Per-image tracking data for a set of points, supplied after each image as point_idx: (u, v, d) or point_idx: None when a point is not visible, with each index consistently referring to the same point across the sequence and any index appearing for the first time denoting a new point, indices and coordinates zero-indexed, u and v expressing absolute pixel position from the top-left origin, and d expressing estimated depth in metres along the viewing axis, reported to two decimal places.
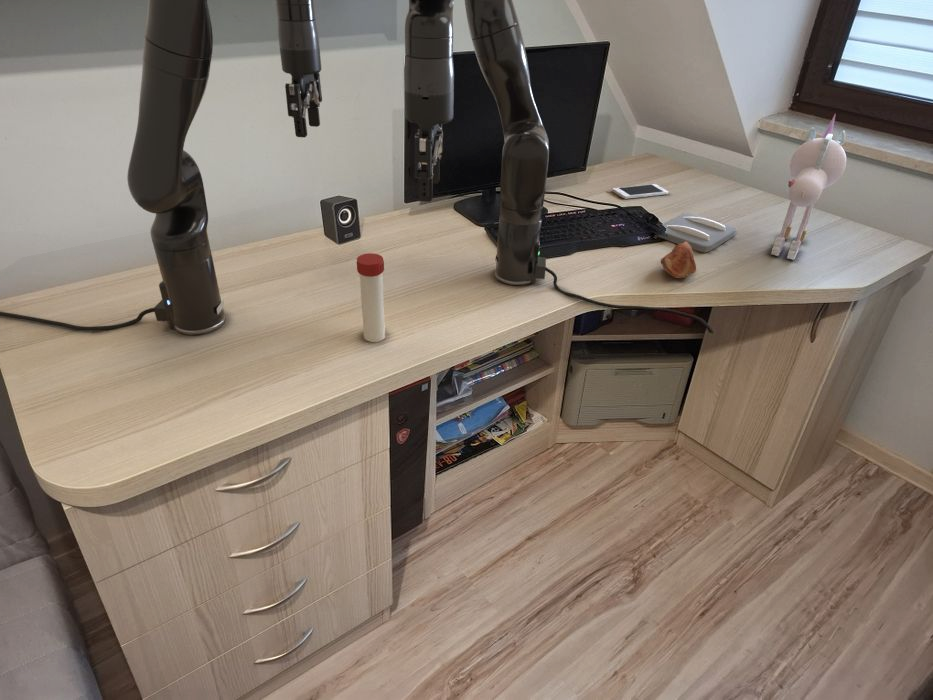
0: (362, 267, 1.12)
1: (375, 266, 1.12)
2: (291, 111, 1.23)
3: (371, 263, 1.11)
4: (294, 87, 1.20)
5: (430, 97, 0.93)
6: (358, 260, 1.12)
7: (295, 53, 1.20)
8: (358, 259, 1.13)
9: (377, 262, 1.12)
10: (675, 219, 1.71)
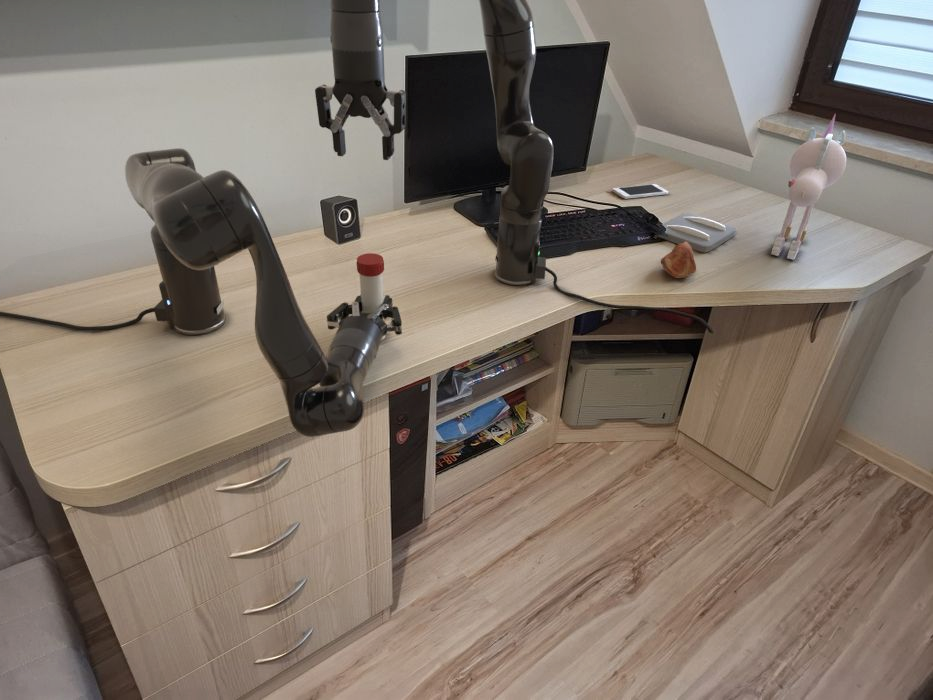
0: (362, 267, 1.12)
1: (375, 266, 1.12)
2: None
3: (371, 263, 1.11)
4: (404, 95, 0.97)
5: None
6: (358, 260, 1.12)
7: (382, 52, 0.94)
8: (358, 259, 1.13)
9: (377, 262, 1.12)
10: (675, 219, 1.71)
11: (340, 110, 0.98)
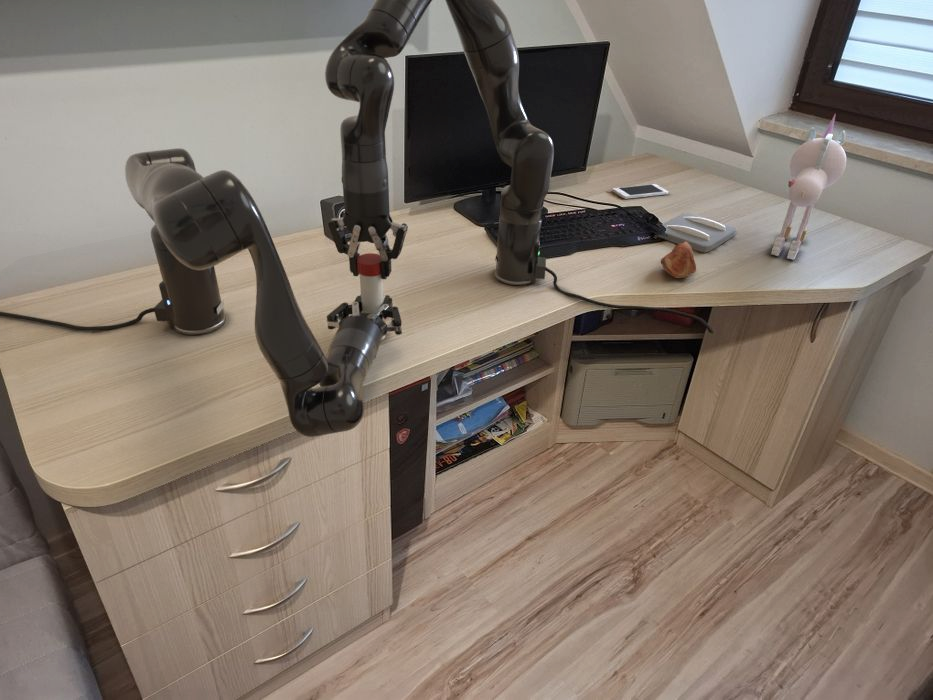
0: (362, 267, 1.12)
1: (375, 266, 1.12)
2: None
3: (371, 263, 1.11)
4: (406, 228, 1.09)
5: None
6: (358, 260, 1.12)
7: (388, 190, 1.06)
8: (358, 259, 1.13)
9: (377, 262, 1.12)
10: (675, 219, 1.71)
11: (352, 239, 1.10)
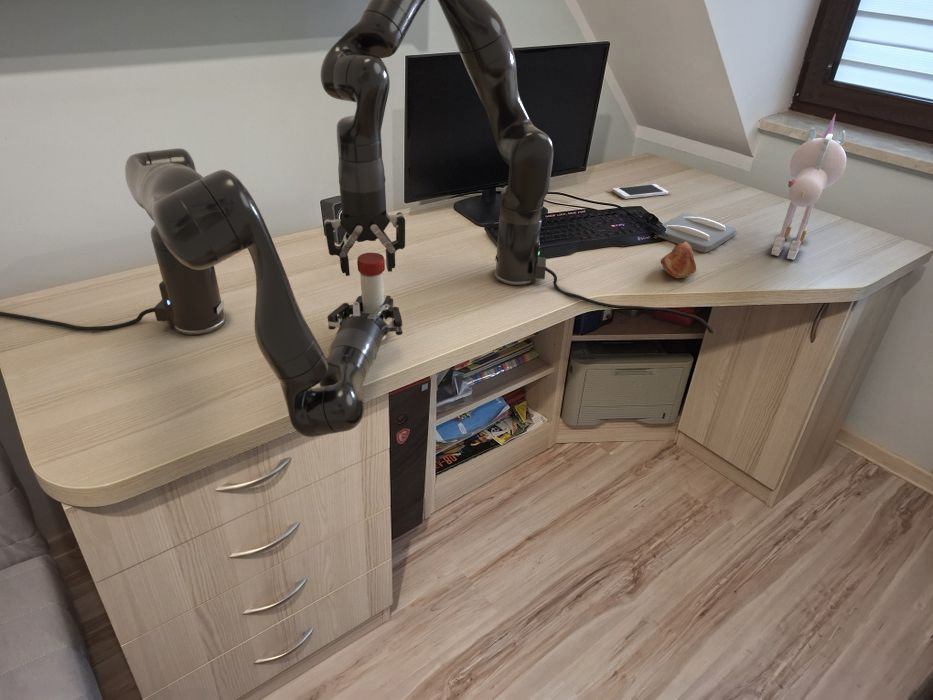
0: (379, 265, 1.12)
1: (383, 258, 1.14)
2: None
3: (381, 258, 1.13)
4: None
5: None
6: (370, 263, 1.11)
7: None
8: (368, 263, 1.11)
9: (380, 255, 1.14)
10: (675, 219, 1.71)
11: (350, 239, 1.09)
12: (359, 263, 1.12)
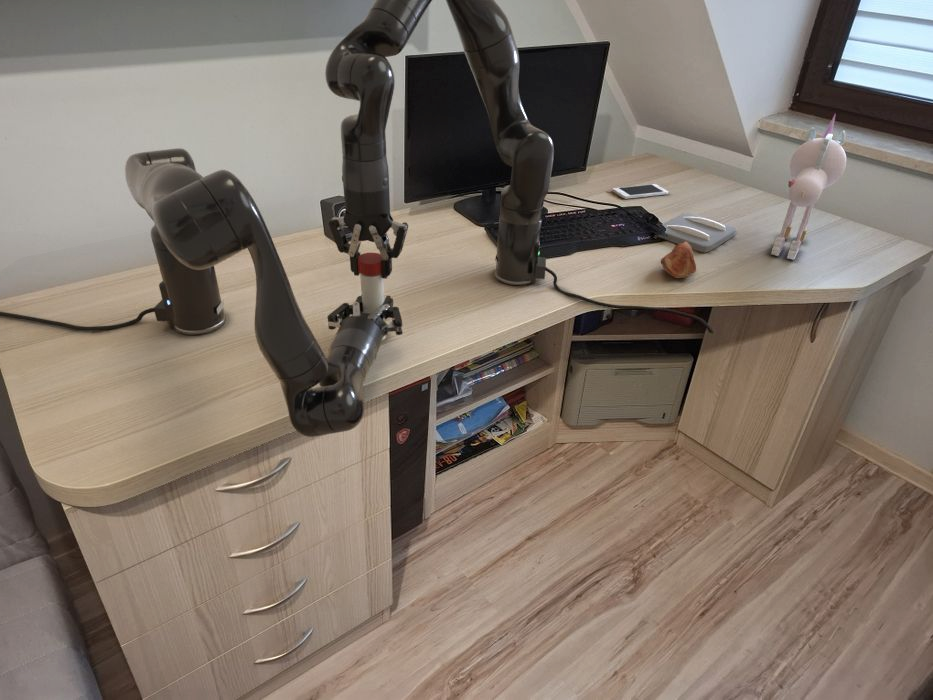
0: (379, 265, 1.12)
1: None
2: None
3: (381, 258, 1.13)
4: (407, 227, 1.09)
5: None
6: (370, 263, 1.11)
7: (388, 188, 1.06)
8: (368, 263, 1.11)
9: (380, 255, 1.14)
10: (675, 219, 1.71)
11: (353, 238, 1.09)
12: (359, 263, 1.12)
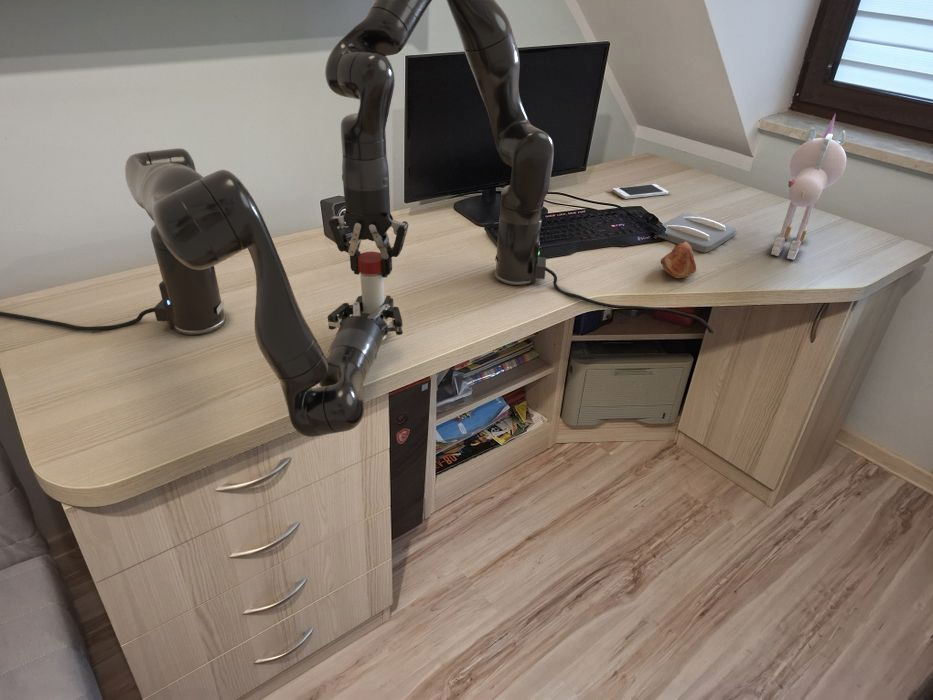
0: None
1: None
2: None
3: (374, 252, 1.14)
4: (407, 226, 1.09)
5: None
6: None
7: (388, 187, 1.05)
8: (381, 258, 1.12)
9: (368, 252, 1.14)
10: (675, 219, 1.71)
11: (353, 237, 1.09)
12: (374, 264, 1.11)
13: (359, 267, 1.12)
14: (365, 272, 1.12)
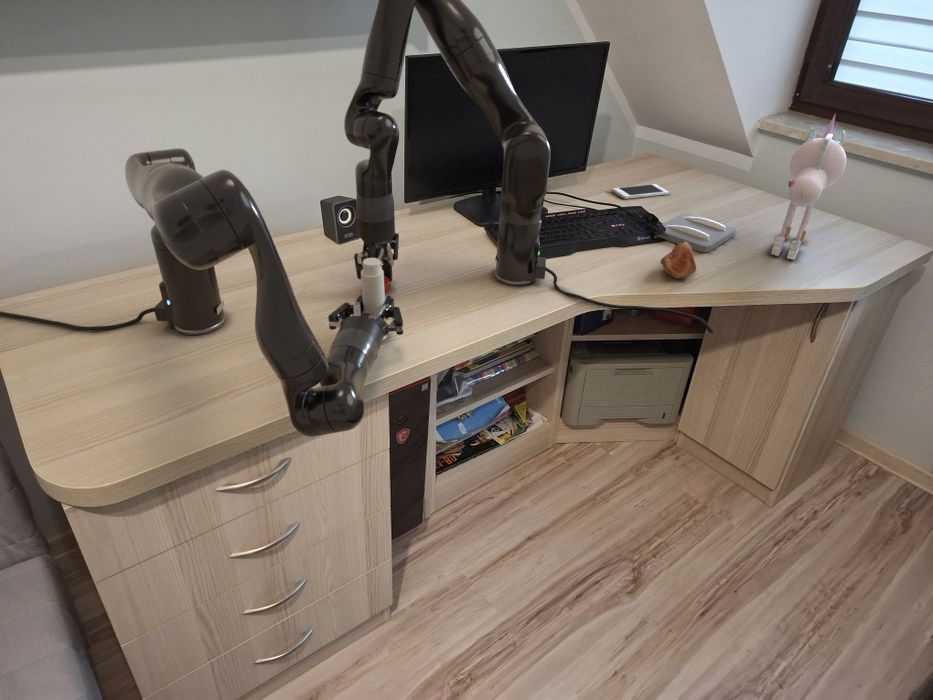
0: None
1: None
2: None
3: None
4: None
5: None
6: None
7: None
8: (384, 276, 1.38)
9: None
10: (675, 219, 1.71)
11: None
12: (389, 281, 1.37)
13: None
14: (387, 291, 1.36)
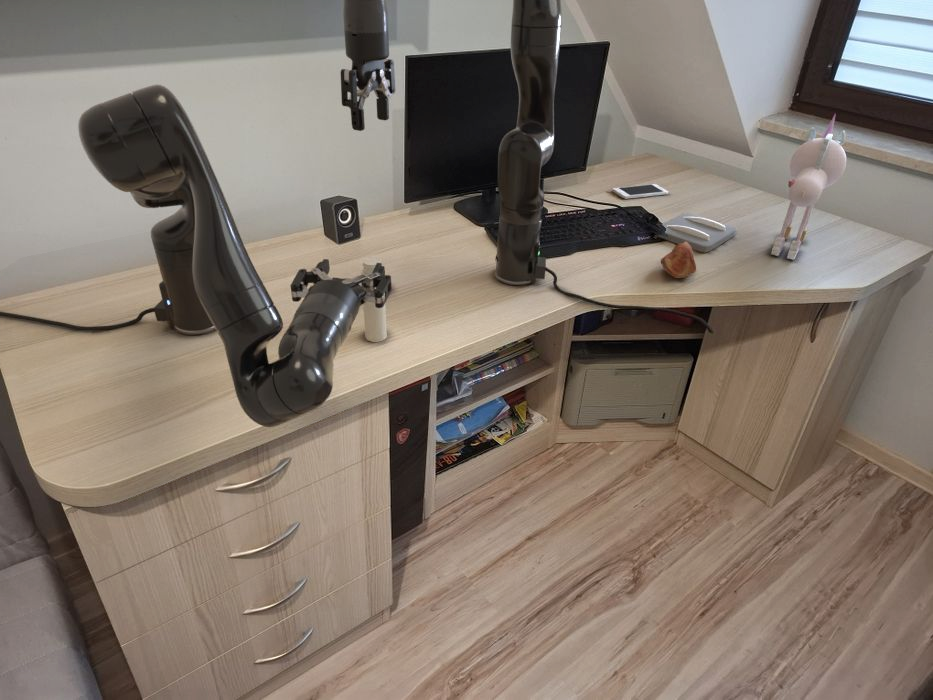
0: None
1: None
2: None
3: None
4: None
5: None
6: None
7: None
8: None
9: None
10: (675, 219, 1.71)
11: (368, 87, 1.11)
12: None
13: None
14: None
